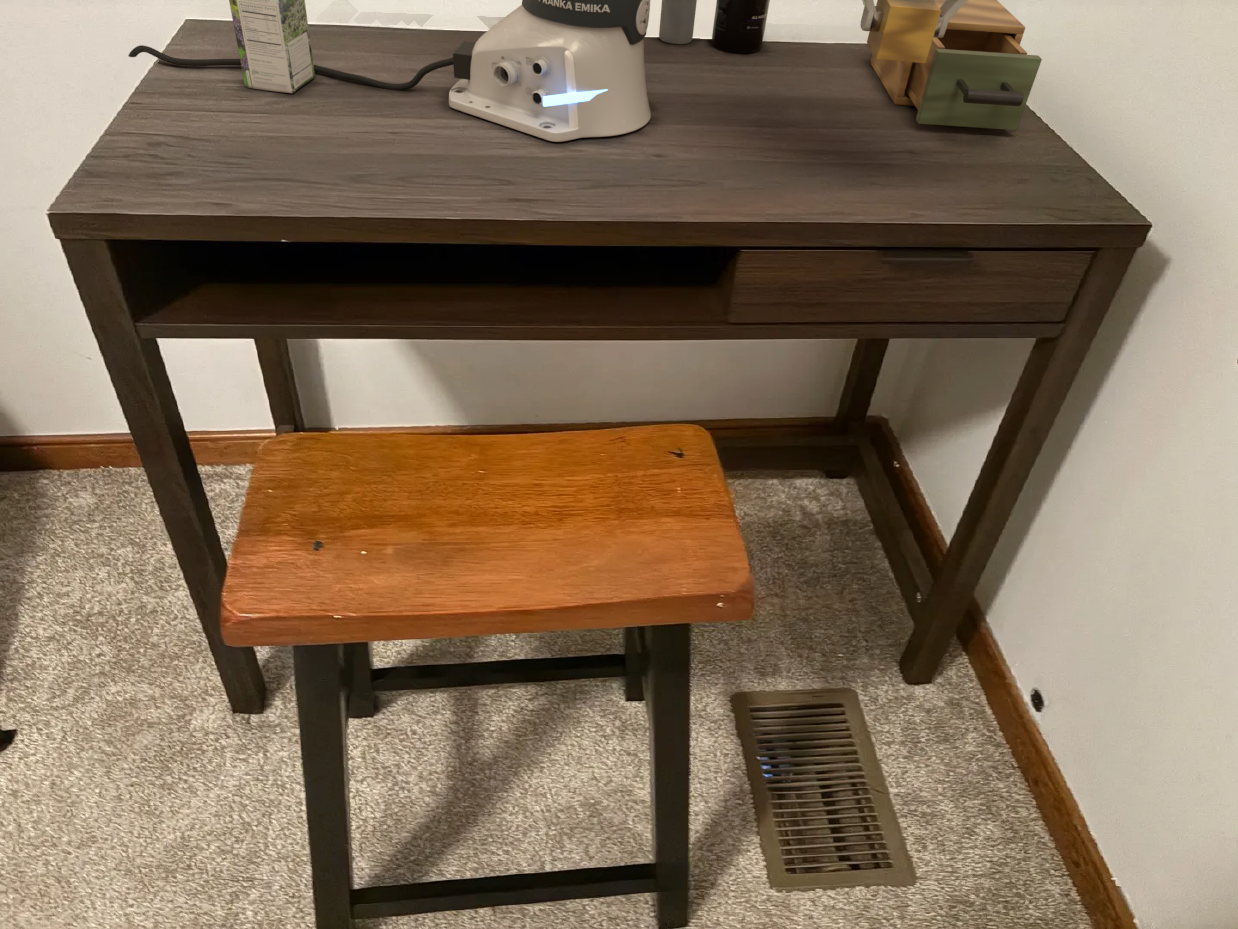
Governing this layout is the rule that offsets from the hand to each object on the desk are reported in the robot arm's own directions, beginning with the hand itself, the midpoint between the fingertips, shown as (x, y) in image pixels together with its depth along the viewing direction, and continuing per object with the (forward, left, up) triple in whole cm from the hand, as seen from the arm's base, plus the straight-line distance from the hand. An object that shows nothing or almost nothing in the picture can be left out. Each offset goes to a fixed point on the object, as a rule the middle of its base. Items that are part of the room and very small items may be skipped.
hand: (900, 32), depth 83 cm
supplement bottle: (-24, +35, -15) cm, 45 cm away
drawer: (+7, +24, -14) cm, 28 cm away
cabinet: (+2, +34, -15) cm, 37 cm away
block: (0, 0, -2) cm, 2 cm away
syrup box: (-65, -7, -15) cm, 67 cm away
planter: (-32, +33, -15) cm, 48 cm away
